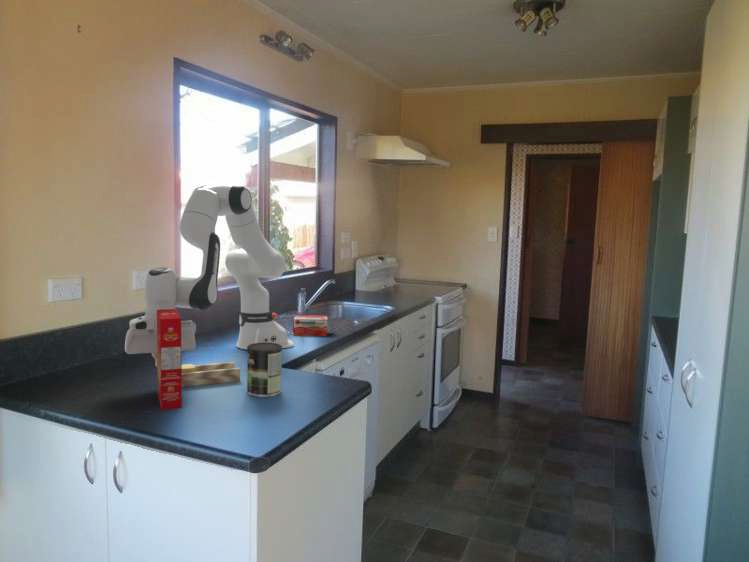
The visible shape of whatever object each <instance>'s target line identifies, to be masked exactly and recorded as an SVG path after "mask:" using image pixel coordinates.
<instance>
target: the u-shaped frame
mask: <svg viewBox="0 0 749 562" xmlns="http://www.w3.org/2000/svg"><path fill="white" fill-rule="evenodd" d="M193 365H194V364H193ZM194 367H195V372H187V373H182V388H184V387H194V386H196V387H197V386H205V385H212V384H213V385H214V384H222V383H233V382H241V368H240V367H235V362H234V361H227V362H219V363H206V364H205V363H204V364H196V365H194Z"/></svg>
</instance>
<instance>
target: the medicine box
mask: <svg viewBox="0 0 749 562" xmlns="http://www.w3.org/2000/svg"><path fill="white" fill-rule="evenodd" d="M328 321H329V318H328V315H307V314H306V315H304V314H300V315H299V314H295V316H294V318H293V323H292V336H298V337H299V336H300V337H301V336H302V337H327V335H328V330H329V329H328V328H329V322H328Z"/></svg>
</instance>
